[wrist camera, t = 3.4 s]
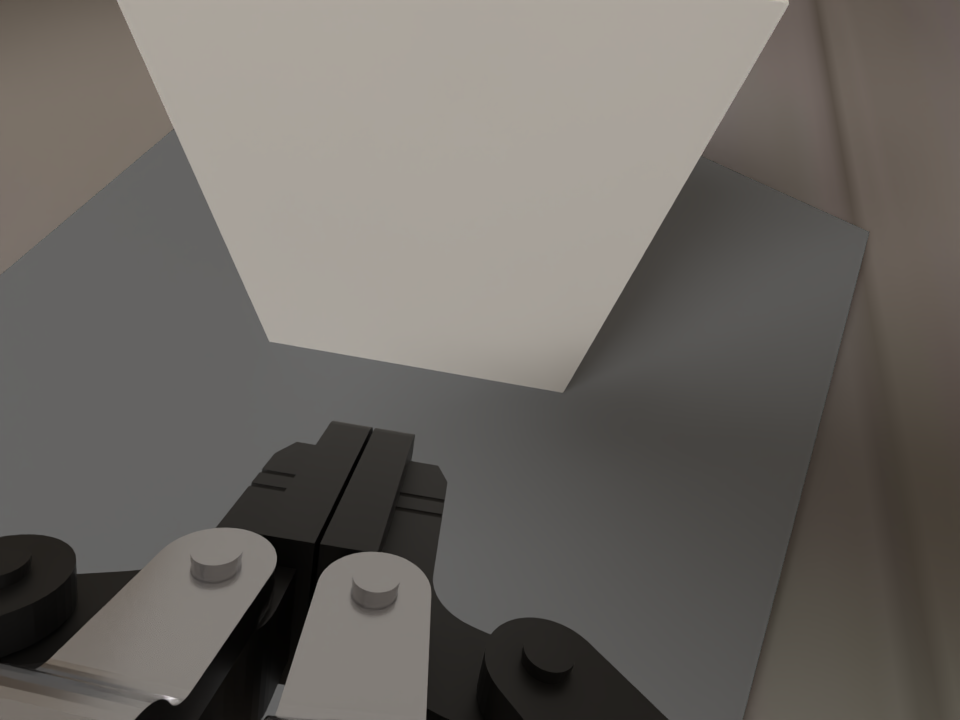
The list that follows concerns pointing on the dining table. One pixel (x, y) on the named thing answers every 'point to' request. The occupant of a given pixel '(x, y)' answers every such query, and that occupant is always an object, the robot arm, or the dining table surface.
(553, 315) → the tile
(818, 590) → the dining table surface
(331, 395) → the mat
